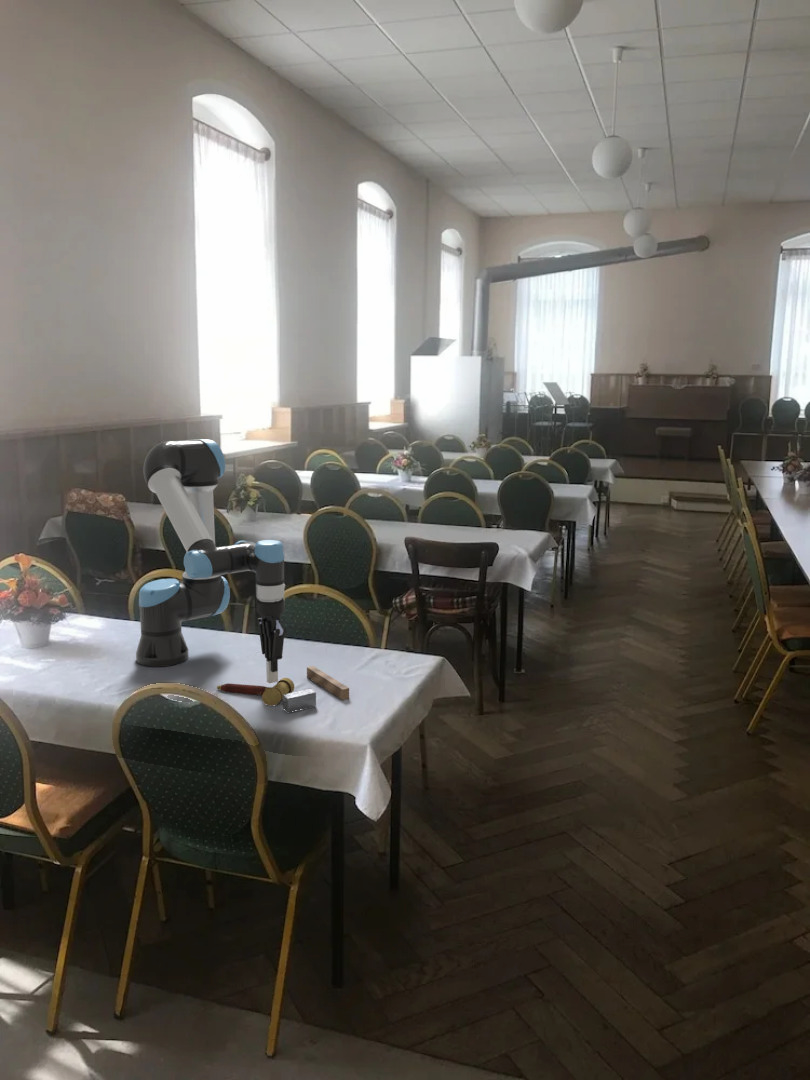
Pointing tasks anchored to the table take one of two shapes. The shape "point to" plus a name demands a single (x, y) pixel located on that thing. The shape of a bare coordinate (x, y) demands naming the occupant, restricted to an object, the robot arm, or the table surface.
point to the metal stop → (299, 700)
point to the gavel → (262, 690)
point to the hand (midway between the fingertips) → (272, 681)
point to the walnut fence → (328, 683)
